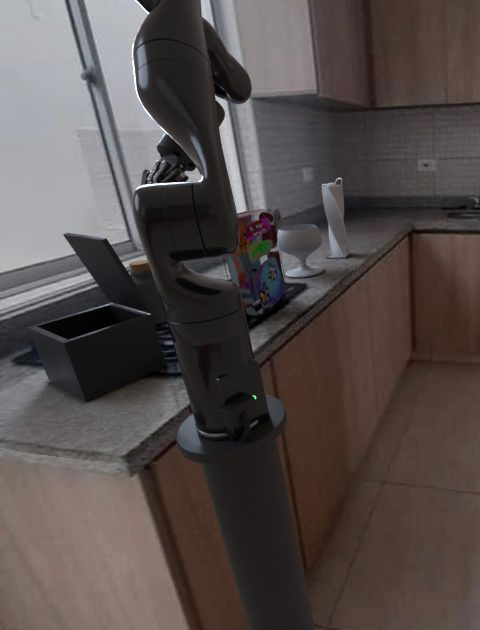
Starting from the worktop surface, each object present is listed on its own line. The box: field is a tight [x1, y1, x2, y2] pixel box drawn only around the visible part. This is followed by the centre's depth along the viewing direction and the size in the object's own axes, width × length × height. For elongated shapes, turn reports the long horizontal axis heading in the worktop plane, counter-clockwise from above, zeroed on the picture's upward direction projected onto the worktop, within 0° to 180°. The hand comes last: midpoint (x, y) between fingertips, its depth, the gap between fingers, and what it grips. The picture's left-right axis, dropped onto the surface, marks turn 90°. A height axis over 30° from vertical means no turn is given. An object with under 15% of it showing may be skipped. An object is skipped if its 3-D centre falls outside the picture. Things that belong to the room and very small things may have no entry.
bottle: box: [128, 259, 167, 326], centre depth 107 cm, size 6×6×15 cm
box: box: [221, 208, 288, 323], centre depth 112 cm, size 25×6×24 cm, turn 170°
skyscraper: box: [321, 177, 351, 260], centre depth 159 cm, size 8×8×28 cm
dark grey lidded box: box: [27, 302, 167, 402], centre depth 82 cm, size 14×15×11 cm
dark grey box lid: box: [62, 232, 153, 313], centre depth 81 cm, size 15×15×1 cm
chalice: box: [277, 223, 324, 278], centre depth 142 cm, size 14×14×15 cm
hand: (141, 211), depth 84 cm, fingers closed
